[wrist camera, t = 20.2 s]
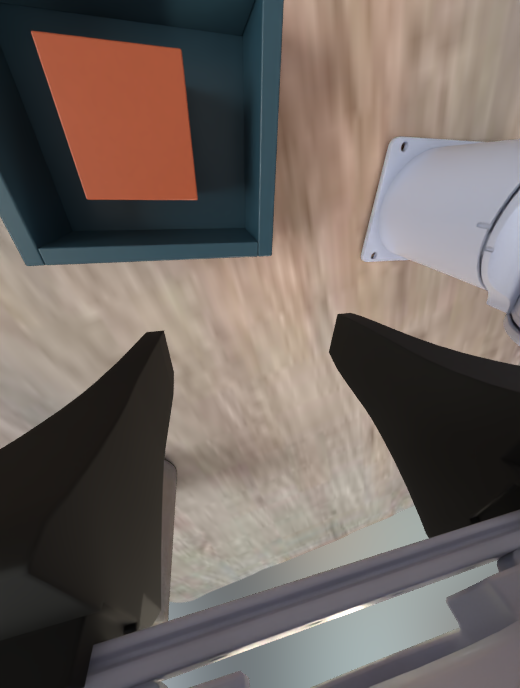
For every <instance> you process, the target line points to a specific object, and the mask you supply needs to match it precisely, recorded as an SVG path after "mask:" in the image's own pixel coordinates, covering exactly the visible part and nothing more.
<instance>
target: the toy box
mask: <svg viewBox="0 0 520 688" xmlns="http://www.w3.org/2000/svg"><path fill="white" fill-rule="evenodd" d="M283 4H284V0H0V217H1V219H2V221H3V223H4V224H5V226H6V228H7V230H8V232H9V234H10V236H11V238H12V240H13V242H14V243H15V245H16V247H17V249H18V251H19V253H20V255H21V257H22V259H23V260H24V262H25V264H26V265H27V266H39V265H63V264H88V263H112V262H137V261H161V260H185V259H210V258H234V257H257V256H271V255H272V238H273V217H274V195H275V174H276V153H277V132H278V111H279V89H280V68H281V47H282V26H283ZM31 31H40V32H48V33H56V34H65V35H73V36H81V37H89V38H98V39H106V40H114V41H122V42H131V43H139V44H147V45H155V46H164V47H172V48H180V49H181V50H182V56H183V66H184V75H185V84H186V93H187V103H188V112H189V121H190V131H191V140H192V149H193V158H194V168H195V177H196V186H197V195H198V200H88V199H87V198H86V196H85V193H84V190H83V187H82V184H81V181H80V178H79V175H78V172H77V169H76V166H75V163H74V160H73V157H72V154H71V151H70V148H69V145H68V142H67V139H66V136H65V133H64V130H63V127H62V124H61V121H60V118H59V115H58V112H57V109H56V106H55V103H54V100H53V97H52V94H51V91H50V88H49V85H48V82H47V79H46V76H45V73H44V70H43V67H42V64H41V61H40V58H39V55H38V52H37V49H36V46H35V43H34V40H33V37H32V34H31Z"/></svg>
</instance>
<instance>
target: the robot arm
mask: <svg viewBox="0 0 520 688" xmlns="http://www.w3.org/2000/svg"><path fill="white" fill-rule="evenodd" d="M403 143H404V149H403V150H401V146H402V144H403ZM373 253H374V255H373V257H371V255H372V254H373ZM361 259H362V260H363V261H365V262H374V261H394V260H412V261H414V262H417V263H419V264H422V265H424V266H427V267H429V268H432V269H434V270H437V271H439V272H442V273H444V274H447V275H449V276H452V277H454V278H457V279H459V280H462V281H464V282H467V283H469V284H472V285H474V286H477V287H479V288H482V289H484V290H487V291H488V299H487V305H489V306H492V307H494V308H496V309H498V310H501V311H503V312H505V313H507V314H506V315H505V318H504V328H505V331H506V333H507V334H508V335H509V337H510V338H511V339H512V340H513V341H514V342H515V343H517V344H518V345H519V346H520V139H511V140H502V141H493V142H478V141H463V140H447V139H432V138H416V137H401V136H400V137H395V138H393V139H392V140H391V142H390V143H389V146H388V149H387V153H386V157H385V161H384V165H383V169H382V173H381V177H380V181H379V185H378V189H377V193H376V197H375V201H374V205H373V209H372V213H371V217H370V221H369V225H368V229H367V233H366V237H365V241H364V245H363V249H362V253H361ZM329 353H330V355H331V357H332V359H333V362H334V364H335V365H336V367H337V369H338V371H339V372H340V374H341V375H342V377H343V378H344V380H345V381H346V383H347V384H348V385H349V387H350V388H351V390H352V391H353V392H354V394H355V395H356V397H357V398H358V399H359V401H360V402H361V404H362V405H363V406H364V408H365V409H366V411H367V412H368V414H369V415H370V417H371V418H372V420H373V422H374V424H375V425H376V427H377V429H378V431H379V433H380V434H381V436H382V438H383V440H384V442H385V444H386V446H387V447H388V449H389V451H390V453H391V455H392V457H393V459H394V461H395V463H396V465H397V467H398V469H399V471H400V474H401V476H402V478H403V480H404V482H405V484H406V486H407V488H408V491H409V493H410V495H411V498H412V500H413V502H414V505H415V507H416V509H417V512H418V514H419V516H420V519H421V522H422V524H423V526H424V529H425V531H426V534H427V536H428V537H429V539H426V540H422V541H419V542H416V543H413V544H410V545H407V546H404V547H400V548H397V549H394V550H391V551H388V552H385V553H381V554H378V555H375V556H372V557H369V558H366V559H363V560H360V561H356V562H353V563H350V564H347V565H344V566H341V567H338V568H334V569H331V570H328V571H325V572H322V573H318V574H315V575H312V576H309V577H306V578H303V579H300V580H296V581H294V582H290V583H287V584H284V585H281V586H278V587H274V588H271V589H268V590H265V591H262V592H259V593H255V594H252V595H249V596H246V597H243V598H240V599H237V600H233V601H230V602H227V603H224V604H221V605H218V606H215V607H211V608H208V609H205V610H202V611H199V612H196V613H192V614H189V615H186V616H183V617H180V618H177V619H174V620H170V621H167V622H164V623H161V624H158V625H155V626H152V625H153V623H154V622H155V620H156V619H157V617H158V615H159V614H160V612H161V539H162V499H163V474H164V456H165V447H166V440H167V434H168V427H169V421H170V414H171V407H172V400H173V390H174V371H173V367H172V363H171V359H170V354H169V350H168V346H167V342H166V338H165V334H164V331H156V332H147V333H145V334H144V335H143V336H142V337H141V338H140V340H139V341H138V342H137V343H136V344H135V345H134V346H133V347H132V348H131V349H130V350H129V351H128V352H127V353H126V354H125V355H124V356H123V357H122V358H121V359H120V360H119V361H118V362H117V363H116V364H115V365H114V366H113V367H112V368H111V369H110V370H109V371H107V372H106V373H105V374H104V375H103V376H102V377H101V378H100V379H99V380H98V381H96V382H95V383H94V384H93V385H92V386H91V387H90V388H88V389H87V390H86V391H85V392H83V393H82V394H81V395H80V396H78V397H77V398H76V399H74V400H73V401H72V402H70V403H69V404H68V405H66V406H65V407H64V408H62V409H61V410H60V411H58V412H57V413H55V414H54V415H52V416H51V417H49V418H48V419H46V420H45V421H43V422H42V423H40V424H39V425H37V426H36V427H34V428H33V429H31V430H30V431H28V432H27V433H25V434H24V435H23V436H21V437H19V438H18V439H16V440H15V441H13V442H11V443H10V444H8V445H6V446H5V447H3V448H1V449H0V688H168V687H167V686H166V685H165V684H163V683H162V682H161V681H164V680H166V679H169V678H172V677H175V676H178V675H180V674H183V673H186V672H189V671H191V670H194V669H197V668H200V667H202V666H205V665H208V664H211V663H214V662H216V661H219V660H222V659H225V658H227V657H230V656H233V655H235V654H238V653H241V652H244V651H247V650H249V649H252V648H255V647H258V646H260V645H263V644H266V643H269V642H271V641H274V640H277V639H280V638H283V637H285V636H288V635H291V634H294V633H296V632H299V631H302V630H305V629H307V628H310V627H313V626H316V625H319V624H321V623H324V622H327V621H330V620H332V619H335V618H338V617H341V616H343V615H346V614H349V613H352V612H355V611H357V610H360V609H363V608H365V607H368V606H371V605H374V604H377V603H379V602H382V601H385V600H388V599H391V598H393V597H396V596H399V595H402V594H404V593H407V592H410V591H413V590H415V589H418V588H421V587H424V586H426V585H429V584H432V583H435V582H438V581H440V580H443V579H446V578H449V577H451V576H454V575H457V574H460V573H462V572H465V571H468V570H471V569H473V568H476V567H479V566H482V565H485V564H487V563H490V562H493V561H496V560H498V559H499V560H498V561H497V567H498V569H499V573H497V574H494V575H492V576H490V577H488V578H486V579H484V580H483V581H480V582H479V583H476V584H475V585H472V586H470V587H468V588H467V589H464V590H462V591H460V592H458V593H455V594H454V595H451V596H449V597H447V599H446V602H447V604H448V606H449V608H450V610H451V611H452V613H453V614H454V616H455V618H456V620H457V621H458V623H459V626H460V628H458V629H455V630H453V631H450V632H447V633H445V634H443V635H440V636H437V637H435V638H433V639H430V640H427V641H425V642H422V643H420V644H417V645H415V646H412V647H410V648H407V649H405V650H402V651H399V652H397V653H394V654H392V655H389V656H387V657H384V658H382V659H380V660H377V661H374V662H372V663H369V664H367V665H365V666H362V667H360V668H357V669H355V670H352V671H350V672H347V673H345V674H343V675H340V676H338V677H335V678H333V679H330V680H328V681H326V682H323V683H321V684H318V685H316V686H313V687H311V688H520V366H517V365H513V364H508V363H503V362H498V361H494V360H490V359H485V358H481V357H477V356H473V355H469V354H465V353H461V352H458V351H455V350H451V349H448V348H445V347H441V346H438V345H435V344H432V343H429V342H426V341H423V340H421V339H418V338H415V337H412V336H410V335H407V334H405V333H402V332H400V331H397V330H395V329H392V328H390V327H387V326H385V325H382V324H380V323H377V322H375V321H372V320H370V319H367V318H365V317H362V316H359V315H356V314H352V313H345V314H338V315H337V319H336V324H335V328H334V332H333V337H332V341H331V346H330V350H329ZM151 626H152V627H151ZM190 688H250V683H249V678H248V677H247V676H246V675H244V674H243V673H242V672H241V671H238V672H235V673H232V674H229V675H226V676H223V677H220V678H217V679H214V680H211V681H208V682H205V683H202V684H199V685H196V686H193V687H190Z"/></svg>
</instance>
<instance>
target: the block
mask: <svg viewBox="0 0 520 688" xmlns="http://www.w3.org/2000/svg"><path fill="white" fill-rule="evenodd" d="M31 34H32V37H33V40H34V43H35V46H36V49H37V52H38V55H39V58H40V61H41V64H42V67H43V70H44V73H45V76H46V79H47V82H48V85H49V88H50V91H51V94H52V97H53V100H54V103H55V106H56V109H57V112H58V115H59V118H60V121H61V124H62V127H63V130H64V133H65V136H66V139H67V142H68V145H69V148H70V151H71V154H72V157H73V160H74V163H75V166H76V169H77V172H78V175H79V178H80V181H81V184H82V187H83V190H84V193H85V196H86V198H87V199H88V200H198V195H197V186H196V177H195V168H194V158H193V149H192V140H191V131H190V121H189V112H188V103H187V93H186V84H185V75H184V66H183V56H182V50H181V49H180V48H172V47H164V46H155V45H147V44H139V43H131V42H122V41H114V40H106V39H98V38H89V37H81V36H73V35H65V34H56V33H48V32H40V31H31Z"/></svg>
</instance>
